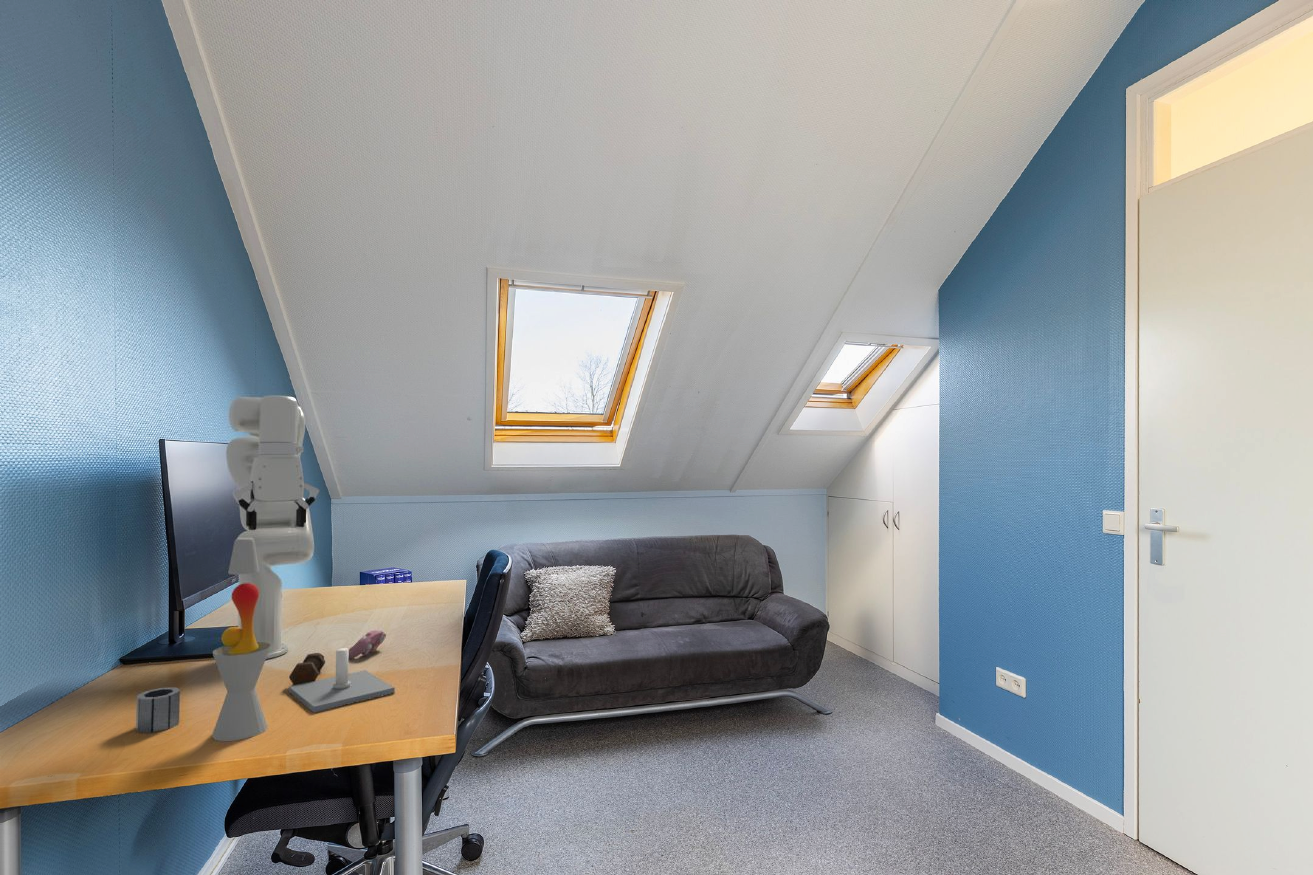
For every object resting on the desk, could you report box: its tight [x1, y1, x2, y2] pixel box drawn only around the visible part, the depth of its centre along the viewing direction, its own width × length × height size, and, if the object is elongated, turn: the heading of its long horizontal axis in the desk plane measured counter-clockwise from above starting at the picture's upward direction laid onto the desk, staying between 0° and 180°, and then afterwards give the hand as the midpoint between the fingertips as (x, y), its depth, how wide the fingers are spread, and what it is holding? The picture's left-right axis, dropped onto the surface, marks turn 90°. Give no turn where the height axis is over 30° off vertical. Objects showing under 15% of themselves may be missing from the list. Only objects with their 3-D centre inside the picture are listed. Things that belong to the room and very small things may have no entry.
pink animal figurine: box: [348, 629, 387, 660], centre depth 172 cm, size 10×5×7 cm, turn 171°
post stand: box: [288, 647, 396, 714], centre depth 144 cm, size 16×16×9 cm
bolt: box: [288, 652, 326, 686], centre depth 154 cm, size 6×5×15 cm
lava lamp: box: [211, 537, 270, 742], centre depth 124 cm, size 9×9×35 cm
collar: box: [135, 687, 181, 734], centre depth 126 cm, size 6×6×6 cm
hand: (276, 528), depth 150 cm, fingers open, 9 cm apart
